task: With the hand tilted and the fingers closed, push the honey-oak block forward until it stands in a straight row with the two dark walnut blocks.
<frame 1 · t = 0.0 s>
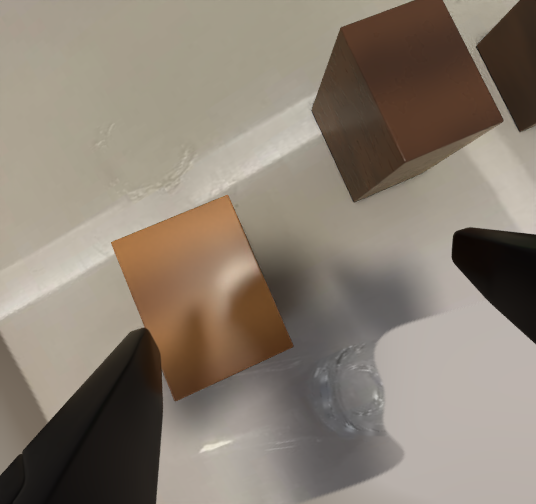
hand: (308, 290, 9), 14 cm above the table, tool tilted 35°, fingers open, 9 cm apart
oak block: (219, 290, 23), on the table
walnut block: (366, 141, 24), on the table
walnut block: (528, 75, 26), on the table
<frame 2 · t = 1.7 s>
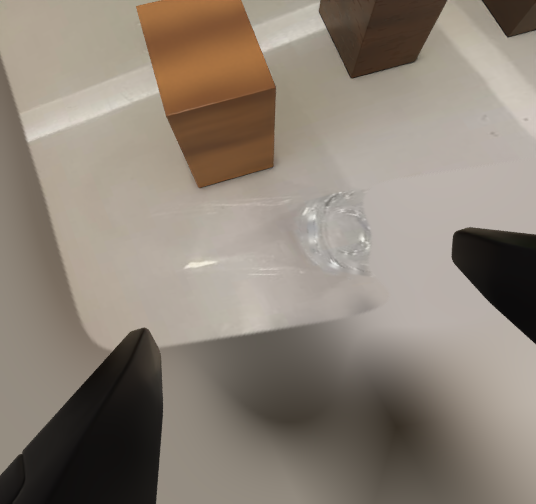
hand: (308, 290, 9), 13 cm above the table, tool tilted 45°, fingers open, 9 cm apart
oak block: (222, 134, 25), on the table
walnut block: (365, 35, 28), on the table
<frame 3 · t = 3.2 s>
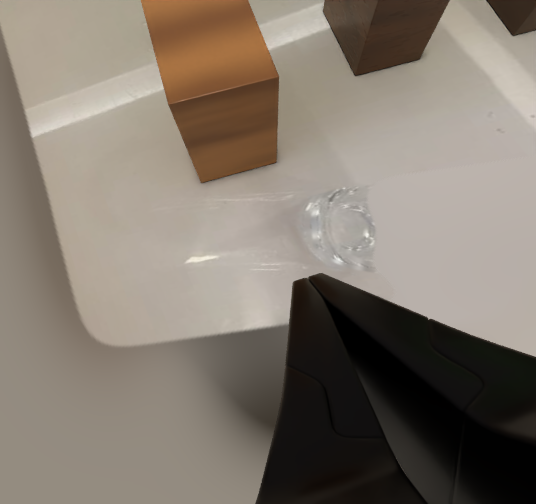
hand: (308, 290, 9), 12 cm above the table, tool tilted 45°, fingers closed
oak block: (225, 130, 25), on the table
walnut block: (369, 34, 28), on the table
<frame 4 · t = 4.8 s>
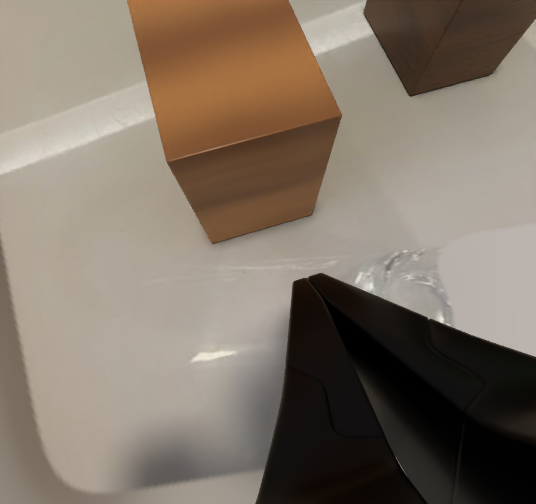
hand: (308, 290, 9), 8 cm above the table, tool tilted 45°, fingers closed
oak block: (243, 170, 19), on the table
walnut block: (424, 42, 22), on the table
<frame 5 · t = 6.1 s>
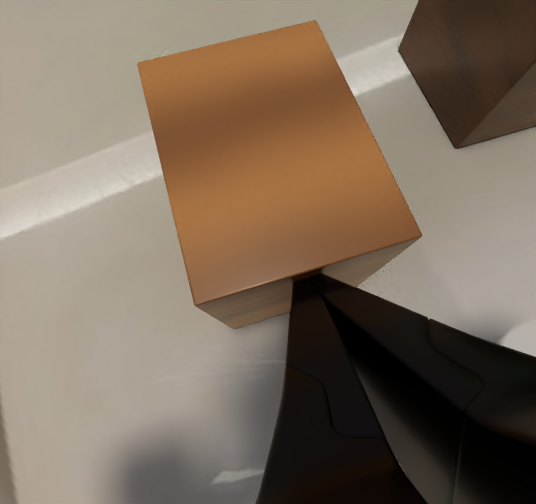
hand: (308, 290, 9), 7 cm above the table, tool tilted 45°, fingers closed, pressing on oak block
oak block: (268, 237, 17), on the table, touching gripper
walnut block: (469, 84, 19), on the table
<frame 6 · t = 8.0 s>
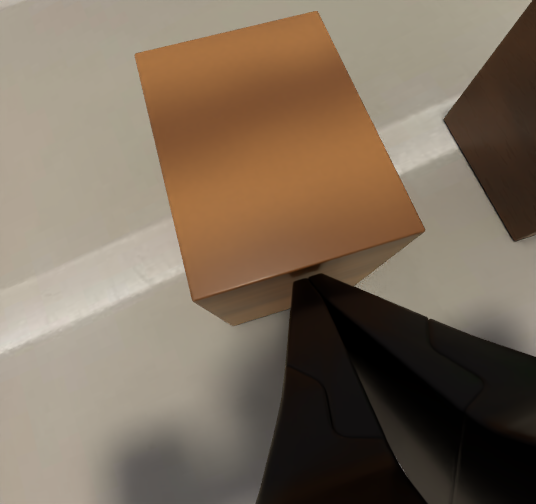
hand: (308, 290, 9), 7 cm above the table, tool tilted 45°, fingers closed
oak block: (267, 234, 16), on the table
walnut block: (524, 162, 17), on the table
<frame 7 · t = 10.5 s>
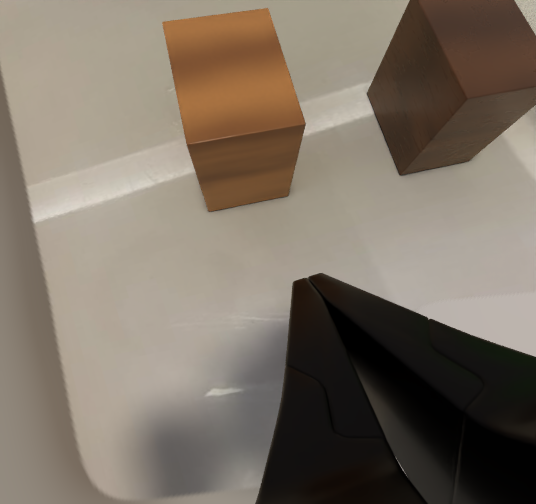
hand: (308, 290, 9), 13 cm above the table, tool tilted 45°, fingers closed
oak block: (237, 157, 24), on the table
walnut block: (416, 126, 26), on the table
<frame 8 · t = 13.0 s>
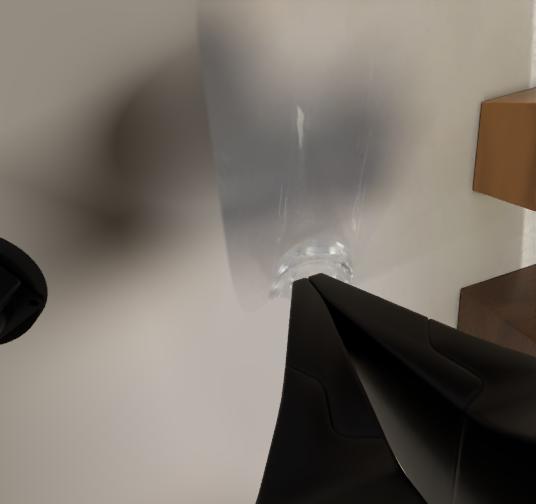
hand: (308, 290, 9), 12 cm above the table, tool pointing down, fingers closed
oak block: (528, 134, 22), on the table
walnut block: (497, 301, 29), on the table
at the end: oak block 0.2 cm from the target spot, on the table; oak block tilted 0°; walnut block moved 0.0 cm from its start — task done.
